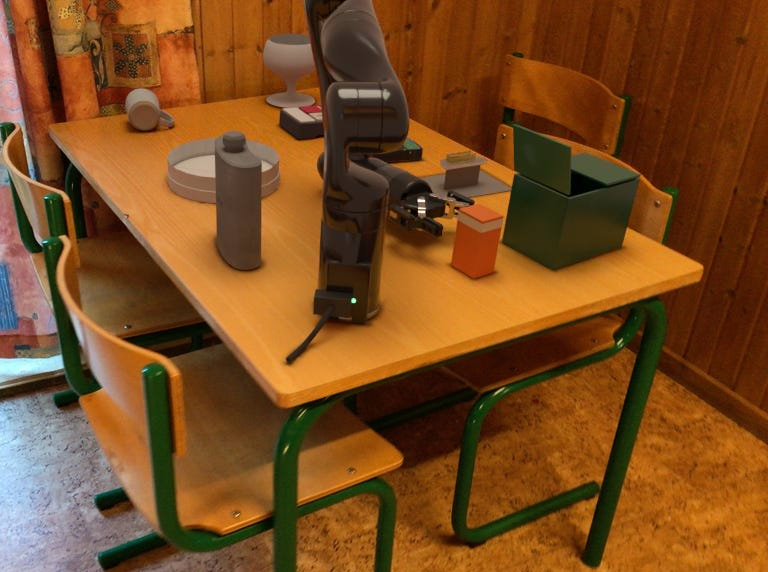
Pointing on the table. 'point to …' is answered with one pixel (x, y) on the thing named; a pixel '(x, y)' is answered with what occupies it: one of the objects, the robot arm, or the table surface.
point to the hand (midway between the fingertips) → (461, 226)
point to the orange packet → (476, 240)
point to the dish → (213, 169)
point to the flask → (238, 201)
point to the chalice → (289, 67)
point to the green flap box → (571, 213)
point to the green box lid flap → (542, 159)
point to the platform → (464, 177)
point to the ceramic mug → (146, 110)
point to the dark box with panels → (302, 121)
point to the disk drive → (403, 153)
